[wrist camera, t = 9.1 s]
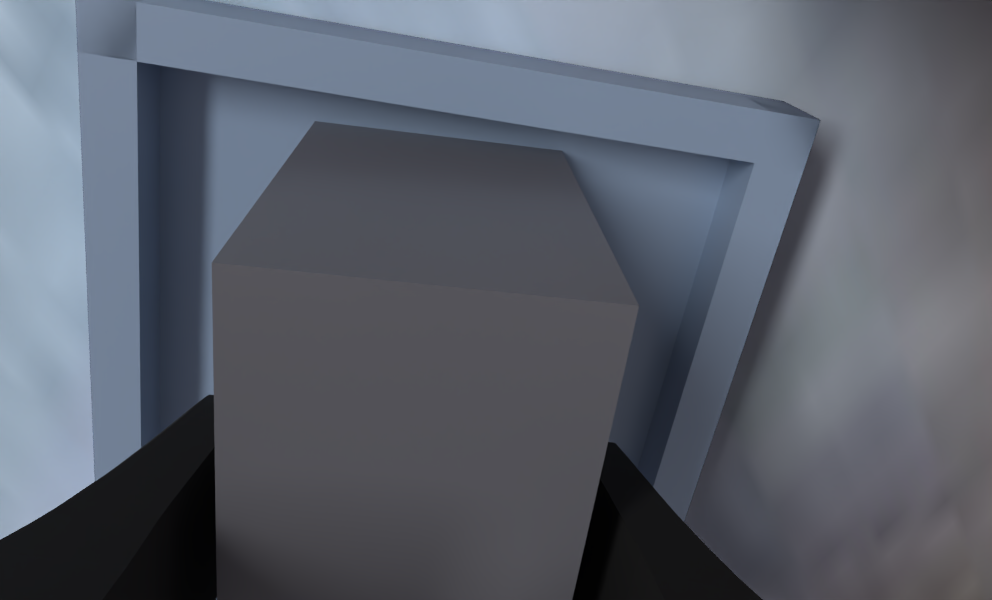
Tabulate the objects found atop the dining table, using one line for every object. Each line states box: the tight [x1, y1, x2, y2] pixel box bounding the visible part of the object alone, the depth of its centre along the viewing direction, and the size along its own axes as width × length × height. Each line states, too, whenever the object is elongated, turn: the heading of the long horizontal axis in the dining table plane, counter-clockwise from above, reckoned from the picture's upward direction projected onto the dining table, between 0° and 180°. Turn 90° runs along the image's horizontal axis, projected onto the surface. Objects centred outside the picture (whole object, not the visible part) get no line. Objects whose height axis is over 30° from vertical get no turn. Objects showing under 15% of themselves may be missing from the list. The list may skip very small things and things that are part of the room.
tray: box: [75, 0, 820, 600], centre depth 15 cm, size 11×12×2 cm
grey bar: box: [212, 121, 639, 600], centre depth 12 cm, size 4×8×6 cm, turn 172°
